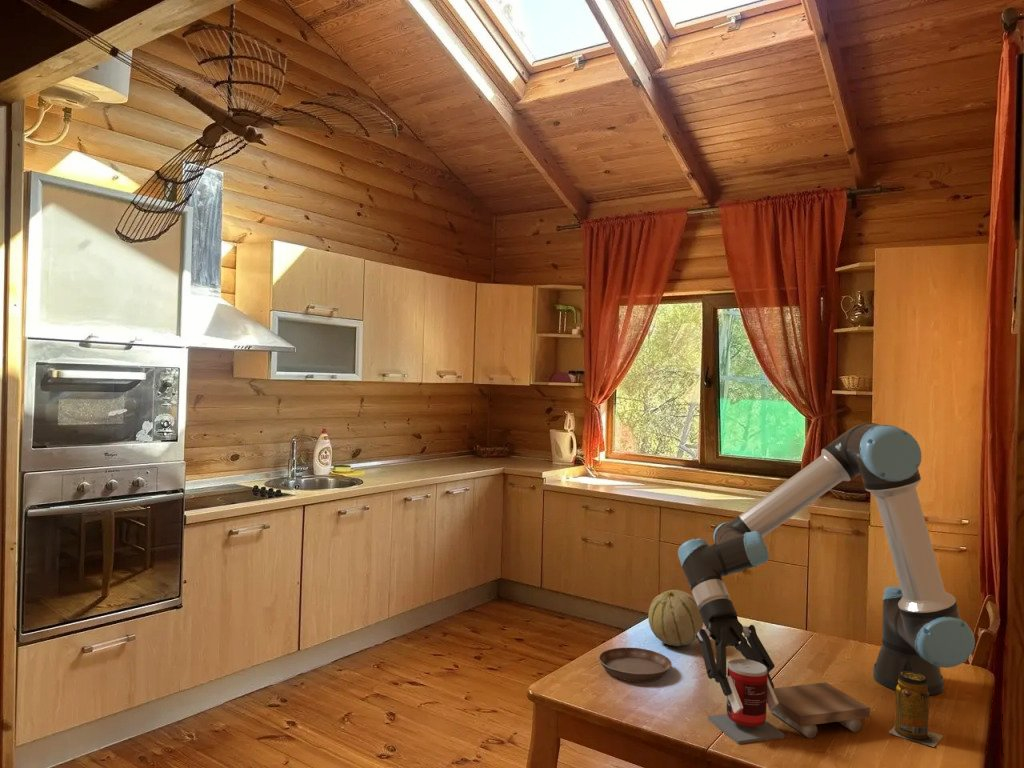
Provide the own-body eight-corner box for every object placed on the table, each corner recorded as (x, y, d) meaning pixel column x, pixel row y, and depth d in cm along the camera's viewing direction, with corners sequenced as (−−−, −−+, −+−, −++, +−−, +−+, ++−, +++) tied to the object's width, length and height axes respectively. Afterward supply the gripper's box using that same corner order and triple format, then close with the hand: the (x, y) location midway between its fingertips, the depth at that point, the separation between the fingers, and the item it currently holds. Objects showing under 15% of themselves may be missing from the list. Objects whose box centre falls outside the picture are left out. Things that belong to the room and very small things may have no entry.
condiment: (898, 722, 158) (900, 666, 158) (943, 736, 152) (945, 678, 152) (887, 733, 152) (889, 676, 152) (933, 748, 147) (935, 688, 147)
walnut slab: (825, 704, 166) (826, 682, 166) (869, 731, 153) (869, 707, 153) (760, 712, 161) (761, 689, 161) (800, 741, 148) (800, 716, 148)
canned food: (734, 706, 159) (736, 655, 159) (771, 718, 154) (773, 665, 154) (720, 718, 153) (721, 665, 153) (758, 731, 148) (759, 676, 148)
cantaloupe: (710, 642, 203) (711, 588, 203) (692, 658, 191) (694, 600, 191) (658, 631, 211) (660, 578, 211) (639, 646, 199) (640, 590, 199)
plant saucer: (603, 654, 193) (604, 642, 193) (673, 663, 188) (673, 651, 188) (593, 680, 176) (593, 668, 176) (669, 690, 171) (669, 677, 171)
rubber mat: (752, 713, 160) (752, 710, 160) (785, 737, 150) (785, 734, 150) (707, 719, 157) (707, 716, 157) (738, 744, 146) (738, 741, 146)
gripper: (747, 610, 171) (790, 710, 155) (667, 616, 165) (704, 721, 149) (761, 593, 166) (808, 695, 150) (680, 599, 160) (720, 706, 144)
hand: (756, 708), depth 150 cm, fingers closed on canned food, 8 cm apart
